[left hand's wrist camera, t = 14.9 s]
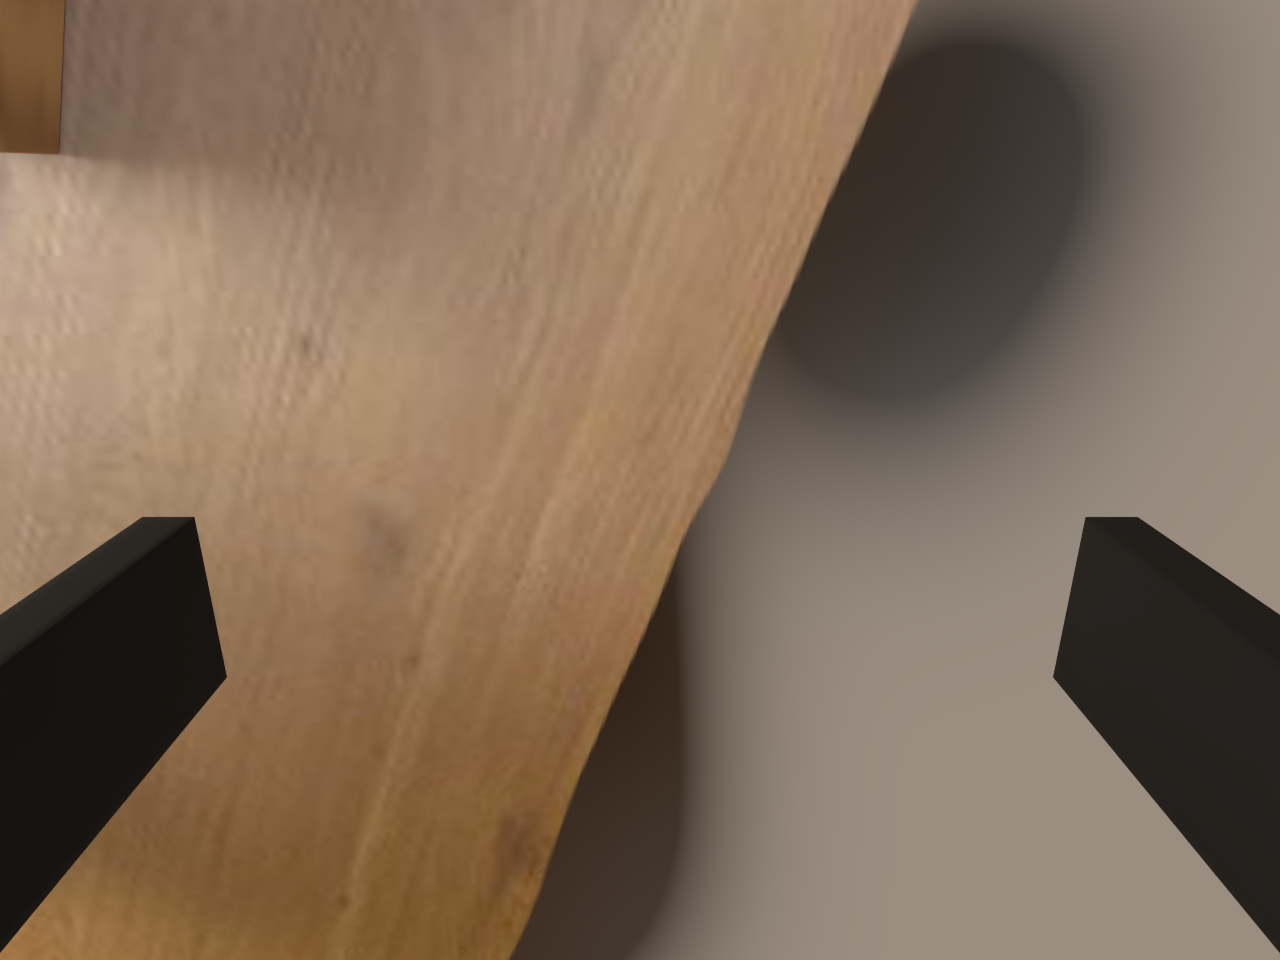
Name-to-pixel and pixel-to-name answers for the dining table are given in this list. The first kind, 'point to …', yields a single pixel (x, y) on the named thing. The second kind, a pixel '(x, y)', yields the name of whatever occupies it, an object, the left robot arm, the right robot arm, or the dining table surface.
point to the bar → (30, 75)
